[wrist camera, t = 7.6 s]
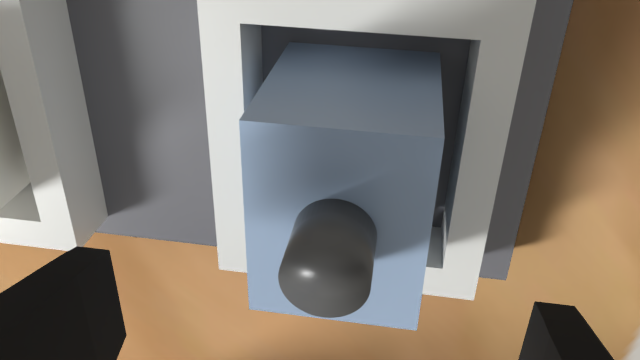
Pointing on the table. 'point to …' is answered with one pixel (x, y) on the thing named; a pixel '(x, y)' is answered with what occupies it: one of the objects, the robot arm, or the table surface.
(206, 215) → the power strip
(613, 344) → the table surface
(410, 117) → the blue plug
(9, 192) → the cream plug
